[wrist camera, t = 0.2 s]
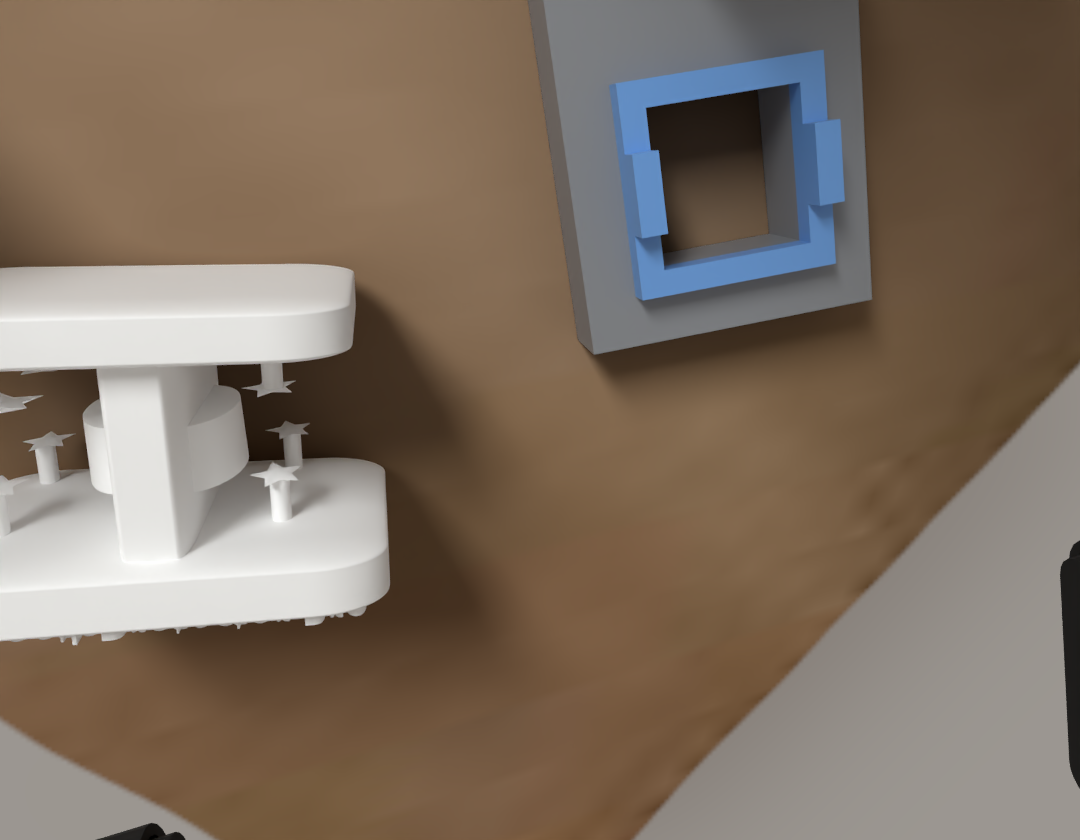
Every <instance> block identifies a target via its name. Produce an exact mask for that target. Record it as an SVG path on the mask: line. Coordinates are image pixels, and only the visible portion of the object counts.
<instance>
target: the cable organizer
mask: <svg viewBox="0 0 1080 840" xmlns="http://www.w3.org/2000/svg"><path fill="white" fill-rule="evenodd" d="M355 310H356V299H355V278H354V272H353V271H352V270H350V269H347V268H342V267H337V266H330V265H317V264H242V265H156V266H70V267H13V268H0V371H24V372H23V373H22V374H21V375H24V374H30V373H35V372H41V371H56V370H67V369H96V370H97V379H98V387H99V395H100V399H98V400H96V401H95V402H93V403H92V404H91V405H89V406H88V407H87V408H86V410H85V411H84V413H83V423H84V431H85V438H86V445H87V453H88V460H89V467H90V469H76V470H60V471H59V466H58V459H57V453H56V446H63V443H62V440H63V439H65V438H67V437H70V436H72V435H74V434H67V435H56V434H55V433H53V432H52V431H51V432H49V433H48V434H46V435H45V436H43V437H42V438H37V439H32V440H27V441H22V442H26V443H31V444H34V445H33V446H32V447H31V449H30V450H29V451H31V450H35V454H36V460H37V467H38V473H37V474H32V475H27V476H22V477H19V478H15V479H12V480H8V479H6V478H5V477H4V476H3V475H1V476H0V641H9V640H11V641H13V642H18V641H22V640H24V639H36V638H38V639H41V640H45V639H49V638H51V637H60V639H61V642H64V640H65V639H66V638H68V637H72V643H73V645H77V644H78V642H79V640H80V639H81V637H82V635H85V636H93V635H95V634H101V636H102V641H111V640H117V639H119V638H121V637H123V636H124V635H125V633H126V632H129V631H132V633H134V632H136V631H139V632H145V631H146V630H155V631H162V630H165V629H169V628H174V629H176V630H177V633H180V630H181V629H187V627H197V628H203V627H206V626H209V625H220V626H228V625H232V624H235V625H237V629H240V626H241V624H247V623H249V622H255V623H264V622H267V621H276V620H277V622H280V621H281V620H284V621H290V619H302V618H305V626H308V625H317V624H320V623H322V622H323V621H324V619H325V616H331V618H333V617H334V615H336V616H337V617H343V613H346V612H348V613H349V614H350V615H352V616H359V615H362V614H363V613H364V612H365V610H366V606H367V605H370V604H372V603H374V602H376V601H377V600H379V599H380V598H382V597H383V596H384V595H385V594H386V593H387V591H388V590H389V588H390V569H389V544H388V523H387V502H386V481H385V470H384V468H383V467H382V466H380V465H378V464H376V463H373V462H370V461H366V460H361V459H352V458H312V459H302V447H301V434H308V433H306V432H305V431H304V430H303V428H304V427H306V426H307V425H309V424H310V423H305V424H296V425H295V424H292V423H290V422H287V421H285V422H284V423H283V425H282V426H281V427H278V428H274V429H269V430H266V431H272V432H278V433H279V439H281V438H283V443H284V457H285V460H270V461H248V459H249V452H248V445H247V438H246V431H245V424H244V417H243V410H242V403H241V396H240V393H239V392H238V391H237V390H236V389H234V388H231V387H228V386H221V385H218V375H217V365H238V364H261V374H262V383H261V384H260V385H256V386H251V387H245V388H243V389H250V390H257V397H260V396H263V395H266V394H268V393H271V392H291V391H290V390H289V389H287V388H286V386H287V385H289V384H291V383H293V382H295V381H288V382H283V371H282V363H288V362H299V361H308V360H314V359H320V358H325V357H330V356H334V355H337V354H340V353H343V352H345V351H347V350H349V349H350V348H351V346H352V344H353V333H354V321H355ZM41 396H43V395H41ZM41 396H27V397H11V396H8V395H5V394H2V393H0V413H5V412H10V411H15V410H20V409H25V408H26V406H25V405H24V403H27V402H29V401H31V400H34V399H36V398H39V397H41Z"/></svg>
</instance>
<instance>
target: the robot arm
mask: <svg viewBox="0 0 1080 840" xmlns="http://www.w3.org/2000/svg"><path fill="white" fill-rule="evenodd" d="M1060 579H1061V600H1062V620H1063V640H1064V660H1065V679H1066V680H1065V681H1066V701H1067V722H1068V742H1069V761H1070V767H1071V771H1072V774H1073V777H1074V779H1075V781H1076V783H1077V785H1078V786H1079V788H1080V541H1078V542H1077V543H1075V544H1074V545H1073V547H1072V549H1071V551H1070V557H1069V559H1067V560H1066V561H1064V562H1063V564H1062V566H1061V572H1060ZM97 840H185V838H184V836H183V835H181V834H180V833H178V832H174V833H171V834H168V835H165V833H164V831H163V829H162V828H161V827H159V826H158V825H157V824H154V823H150V824H147V825H143V826H140V827H137V828H133V829H130V830H127V831H124V832H121V833H117V834H114V835H110V836H107V837H104V838H101V839H97Z"/></svg>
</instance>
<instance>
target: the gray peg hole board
mask: <svg viewBox="0 0 1080 840" xmlns="http://www.w3.org/2000/svg"><path fill="white" fill-rule="evenodd" d="M528 4H529V11H530V18H531V25H532V31H533V38H534V45H535V52H536V59H537V65H538V72H539V79H540V86H541V92H542V99H543V106H544V113H545V119H546V126H547V133H548V140H549V147H550V153H551V160H552V167H553V174H554V180H555V187H556V194H557V201H558V207H559V214H560V221H561V228H562V235H563V241H564V248H565V255H566V262H567V268H568V275H569V282H570V289H571V295H572V302H573V309H574V316H575V323H576V329H577V336H578V340H579V341H580V342H581V343H582V344H583V345H584V346H585V347H586V348H587V349H588V350H589V351H591V352H592V353H593V354H594V355H595V354H600V353H605V352H610V351H615V350H620V349H625V348H630V347H636V346H641V345H646V344H651V343H656V342H661V341H666V340H671V339H676V338H681V337H686V336H691V335H696V334H701V333H706V332H711V331H716V330H721V329H726V328H731V327H736V326H741V325H746V324H751V323H756V322H761V321H766V320H772V319H777V318H782V317H787V316H792V315H797V314H802V313H807V312H812V311H817V310H822V309H827V308H832V307H837V306H842V305H847V304H852V303H857V302H862V301H867V300H872V289H871V267H870V245H869V223H868V201H867V179H866V158H865V136H864V114H863V92H862V70H861V49H860V27H859V5H858V0H528ZM756 89H758V100H759V113H760V126H761V138H762V151H763V164H764V176H765V189H766V202H767V214H768V227H769V234H765V235H760V236H754V237H749V238H743V239H738V240H733V241H727V242H722V243H717V244H711V245H706V246H701V247H695V248H690V249H685V250H679V251H674V252H668V253H662V244H661V235H664V234H668V228H667V220H666V211H665V202H664V193H663V184H662V175H661V166H660V157H659V150H651V148H650V140H649V131H648V122H647V114H646V108H648V107H654V106H660V105H666V104H672V103H678V102H684V101H690V100H696V99H702V98H708V97H714V96H720V95H726V94H732V93H738V92H744V91H750V90H756Z"/></svg>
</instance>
